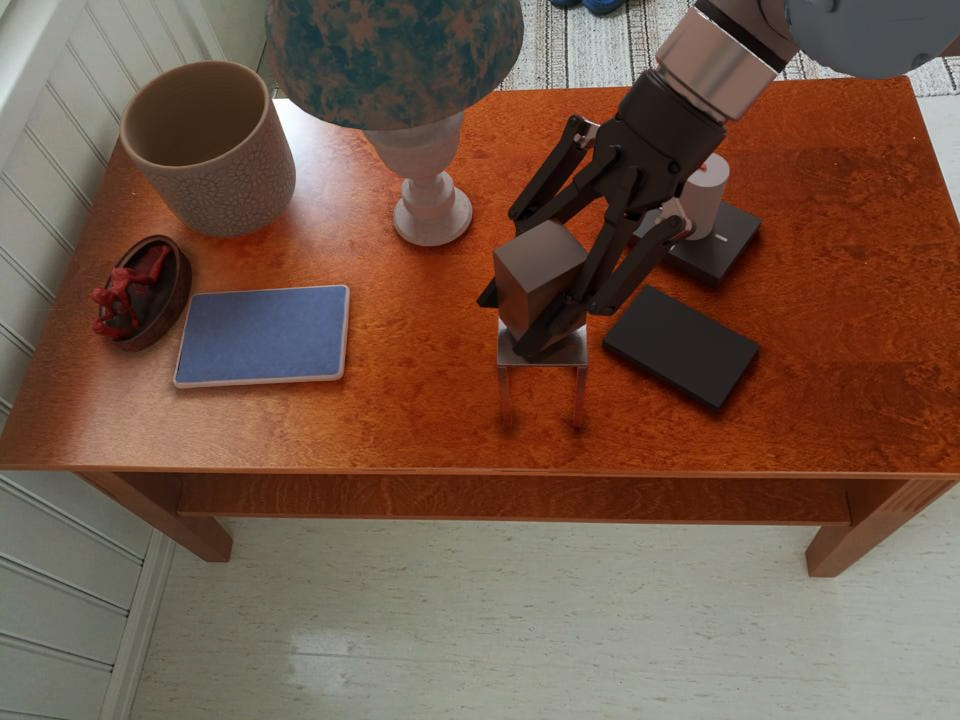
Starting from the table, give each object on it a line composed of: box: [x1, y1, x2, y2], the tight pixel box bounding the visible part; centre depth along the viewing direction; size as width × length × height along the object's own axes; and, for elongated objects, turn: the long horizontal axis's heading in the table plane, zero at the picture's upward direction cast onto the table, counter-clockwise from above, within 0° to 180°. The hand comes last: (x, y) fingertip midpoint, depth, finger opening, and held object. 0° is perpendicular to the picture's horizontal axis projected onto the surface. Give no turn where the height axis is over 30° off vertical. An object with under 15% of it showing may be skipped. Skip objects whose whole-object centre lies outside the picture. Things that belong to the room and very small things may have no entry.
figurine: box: [90, 233, 193, 353], centre depth 86 cm, size 15×10×10 cm, turn 4°
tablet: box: [172, 284, 351, 390], centre depth 85 cm, size 19×13×1 cm, turn 91°
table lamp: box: [264, 0, 525, 247], centre depth 74 cm, size 24×24×40 cm
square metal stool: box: [496, 311, 589, 428], centre depth 73 cm, size 8×8×14 cm
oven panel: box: [627, 199, 763, 290], centre depth 87 cm, size 13×10×2 cm
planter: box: [118, 59, 297, 239], centre depth 88 cm, size 17×17×15 cm
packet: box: [491, 217, 589, 357], centre depth 62 cm, size 5×6×10 cm
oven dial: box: [679, 152, 731, 240], centre depth 82 cm, size 5×5×9 cm
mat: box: [601, 283, 761, 413], centre depth 80 cm, size 14×9×1 cm, turn 53°
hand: (506, 327), depth 63 cm, fingers closed on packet, 5 cm apart
